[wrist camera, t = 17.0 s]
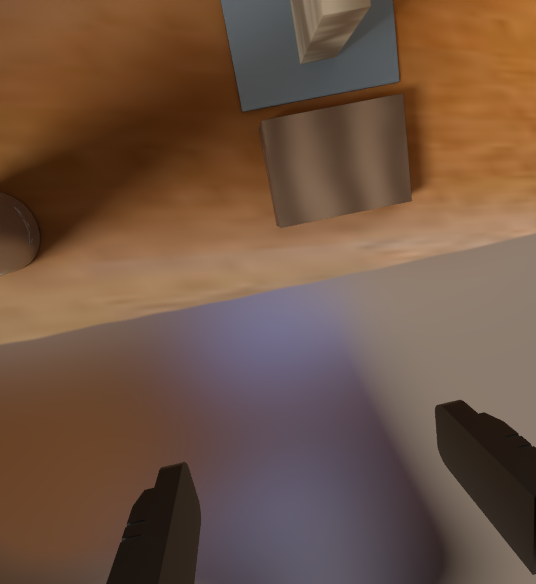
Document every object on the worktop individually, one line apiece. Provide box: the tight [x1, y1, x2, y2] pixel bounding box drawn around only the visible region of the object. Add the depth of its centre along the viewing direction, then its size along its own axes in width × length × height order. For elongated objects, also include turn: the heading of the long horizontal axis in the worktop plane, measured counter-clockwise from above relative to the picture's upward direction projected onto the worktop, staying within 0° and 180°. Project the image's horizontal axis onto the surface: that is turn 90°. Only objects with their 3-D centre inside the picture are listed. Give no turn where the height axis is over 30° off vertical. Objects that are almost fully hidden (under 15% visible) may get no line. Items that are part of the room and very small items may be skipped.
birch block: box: [290, 0, 371, 64], centre depth 32 cm, size 4×6×10 cm, turn 12°
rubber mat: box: [221, 0, 399, 112], centre depth 37 cm, size 18×13×1 cm
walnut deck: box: [259, 93, 412, 228], centre depth 39 cm, size 15×11×4 cm
